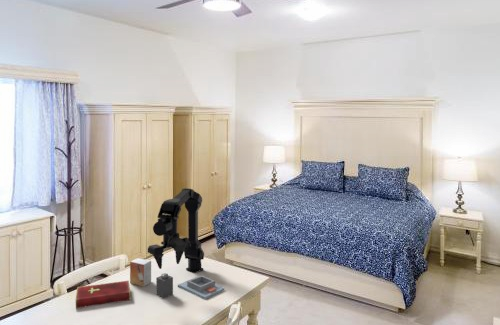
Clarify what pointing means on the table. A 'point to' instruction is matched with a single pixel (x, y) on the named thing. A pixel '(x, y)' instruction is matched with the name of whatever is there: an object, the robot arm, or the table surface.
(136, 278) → the small box
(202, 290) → the socket block
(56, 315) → the table surface
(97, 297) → the hardcover book
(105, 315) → the table surface
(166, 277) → the plug
